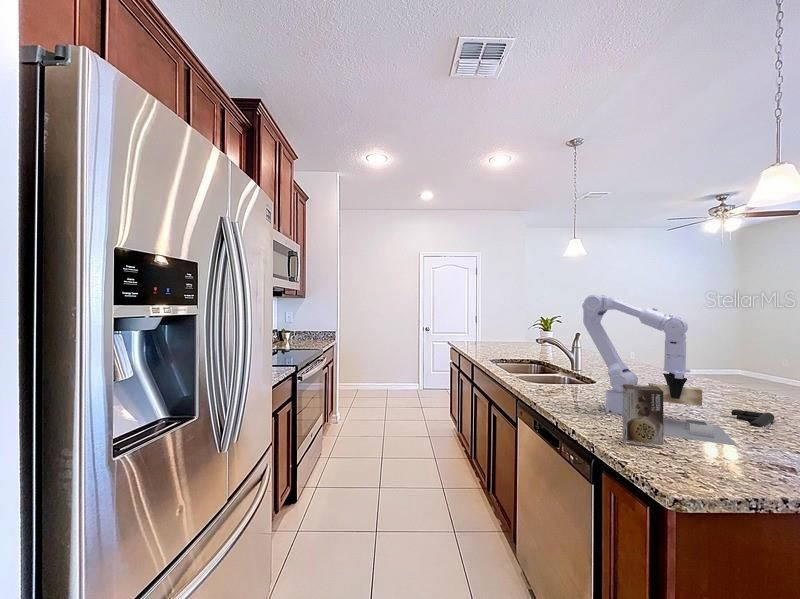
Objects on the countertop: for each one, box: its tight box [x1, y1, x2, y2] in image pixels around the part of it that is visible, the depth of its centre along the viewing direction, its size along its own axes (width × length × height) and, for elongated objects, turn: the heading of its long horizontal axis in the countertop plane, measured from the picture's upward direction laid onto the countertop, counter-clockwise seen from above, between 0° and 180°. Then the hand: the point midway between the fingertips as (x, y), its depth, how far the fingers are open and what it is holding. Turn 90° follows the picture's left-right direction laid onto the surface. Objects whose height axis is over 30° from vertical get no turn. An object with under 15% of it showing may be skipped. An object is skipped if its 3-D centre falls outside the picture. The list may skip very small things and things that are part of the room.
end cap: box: [684, 418, 714, 438], centre depth 119 cm, size 6×6×3 cm
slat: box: [648, 383, 703, 407], centre depth 129 cm, size 14×3×5 cm, turn 64°
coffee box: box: [622, 384, 665, 450], centre depth 113 cm, size 9×6×16 cm
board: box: [663, 418, 739, 447], centre depth 122 cm, size 20×20×2 cm
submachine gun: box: [719, 409, 778, 429], centre depth 136 cm, size 3×20×16 cm
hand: (674, 397), depth 129 cm, fingers closed on slat, 3 cm apart
